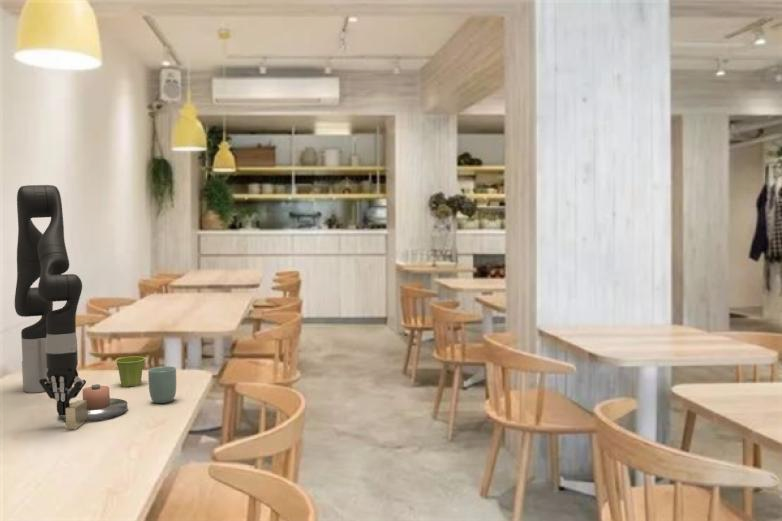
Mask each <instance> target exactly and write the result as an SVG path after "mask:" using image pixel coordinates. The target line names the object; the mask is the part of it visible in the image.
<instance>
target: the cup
mask: <svg viewBox="0 0 782 521" xmlns="http://www.w3.org/2000/svg"><path fill="white" fill-rule="evenodd" d="M147 376H148V390H149V397H150V399H151V401H152V402H153V403H156V404H167V403H170V402H172V401H173V400H174V398H175V397H176V394H177V368H176V367H175V366H170V365H168V366H167V365H166V366H165V365H164V366H163V365H162V366H155V367H152V368H150V369H148V375H147Z"/></svg>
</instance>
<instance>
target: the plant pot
mask: <svg viewBox="0 0 782 521" xmlns="http://www.w3.org/2000/svg"><path fill="white" fill-rule="evenodd" d="M145 360H146V357H144V356H139V355H138V356H134V355H133V356H124V357H120V358H117V359H115V360H114V362H115V363H116V366H117V369H118V374H119V380H120V385H121V387H125V388H129V387H137V386H141V384H142V378H143V377H142V375H143V368H144V364H145Z"/></svg>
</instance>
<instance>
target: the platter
mask: <svg viewBox="0 0 782 521" xmlns="http://www.w3.org/2000/svg"><path fill="white" fill-rule="evenodd" d="M69 404H70V406H68V407H67V408H66V415H58V418H59V419H61V420H63V421H65V427H66V428H65V429H66V430H77V429H78V428H79V427H81V425H83V424H84V423H85V422H89V421H100V420H104V419H110V418H113V417H117V416H120V415H122V414H124V413H126V412H127V411H128V402H127V401H126V400H125V399H122V398H121V399H120V398H111V397H110V406H108V407H106V408H102V409H94V410H89V409H87V400H83V399H79V400H78V399H77V400H76V401H73V402H69Z"/></svg>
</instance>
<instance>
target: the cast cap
mask: <svg viewBox="0 0 782 521" xmlns="http://www.w3.org/2000/svg"><path fill="white" fill-rule="evenodd" d="M110 395H111V394H110V387H109V386H108V385H101V384H96V383H95V384H91V386H89V387H88V386H87V387H85V388H82V400H87V409H89V410H94V409H102V408H106V407H108V406H110V398H111V397H110Z"/></svg>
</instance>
